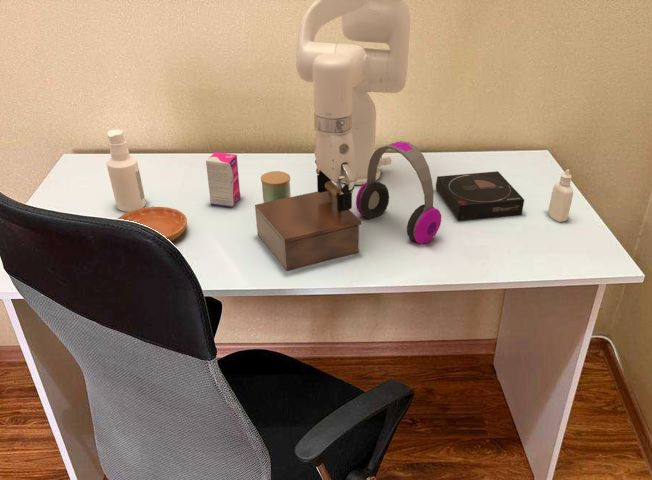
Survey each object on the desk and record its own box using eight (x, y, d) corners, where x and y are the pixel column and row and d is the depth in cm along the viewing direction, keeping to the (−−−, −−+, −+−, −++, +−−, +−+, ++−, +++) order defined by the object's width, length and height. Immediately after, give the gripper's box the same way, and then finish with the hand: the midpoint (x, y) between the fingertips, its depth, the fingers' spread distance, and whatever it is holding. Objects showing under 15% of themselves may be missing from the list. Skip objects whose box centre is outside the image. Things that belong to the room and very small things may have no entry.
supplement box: (233, 208, 159) (228, 163, 152) (210, 205, 160) (203, 160, 153) (241, 198, 164) (237, 153, 156) (219, 195, 164) (213, 151, 157)
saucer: (144, 212, 157) (142, 200, 155) (202, 225, 152) (200, 213, 150) (99, 243, 145) (96, 231, 143) (161, 258, 141) (158, 246, 139)
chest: (325, 222, 155) (324, 193, 150) (358, 256, 143) (359, 225, 139) (257, 238, 148) (255, 208, 144) (286, 274, 137) (284, 243, 132)
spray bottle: (152, 202, 160) (137, 129, 149) (133, 214, 156) (116, 140, 144) (130, 196, 163) (113, 124, 151) (110, 208, 158) (92, 134, 146)
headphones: (443, 238, 150) (452, 154, 138) (417, 252, 145) (424, 165, 133) (377, 207, 161) (380, 126, 149) (352, 219, 156) (352, 136, 144)
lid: (327, 192, 150) (326, 169, 147) (361, 224, 139) (361, 200, 135) (255, 208, 144) (252, 184, 140) (284, 243, 132) (283, 217, 129)
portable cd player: (494, 184, 173) (497, 170, 170) (521, 214, 160) (524, 199, 158) (435, 190, 170) (436, 175, 167) (457, 221, 157) (459, 205, 154)
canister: (285, 206, 160) (283, 169, 154) (296, 218, 156) (294, 180, 150) (259, 212, 158) (256, 174, 152) (270, 224, 153) (267, 185, 147)
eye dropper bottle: (565, 212, 162) (576, 165, 154) (567, 223, 157) (578, 175, 150) (547, 210, 162) (557, 164, 154) (548, 221, 158) (558, 174, 150)
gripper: (370, 133, 127) (368, 213, 138) (331, 105, 139) (332, 181, 150) (335, 139, 124) (336, 221, 135) (298, 110, 136) (302, 187, 147)
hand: (334, 200), depth 142 cm, fingers open, 9 cm apart
